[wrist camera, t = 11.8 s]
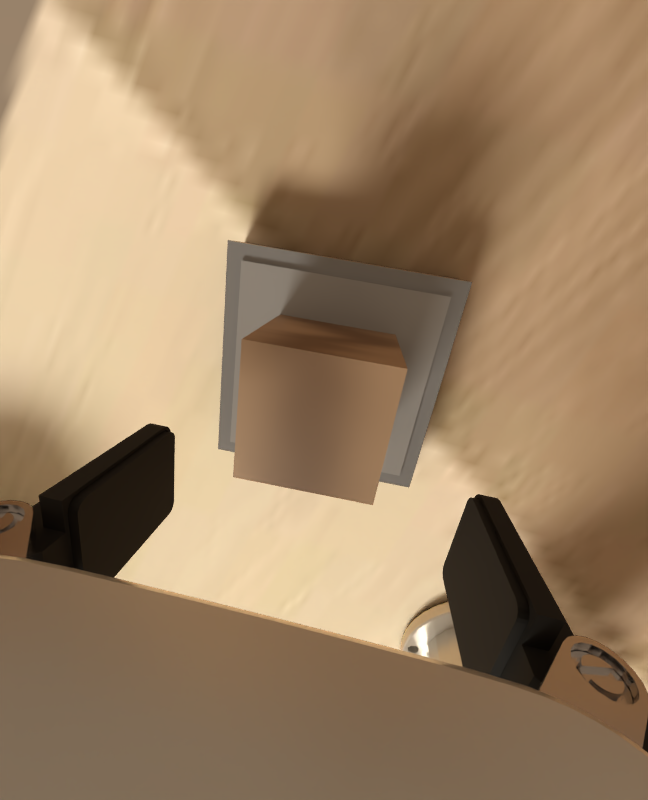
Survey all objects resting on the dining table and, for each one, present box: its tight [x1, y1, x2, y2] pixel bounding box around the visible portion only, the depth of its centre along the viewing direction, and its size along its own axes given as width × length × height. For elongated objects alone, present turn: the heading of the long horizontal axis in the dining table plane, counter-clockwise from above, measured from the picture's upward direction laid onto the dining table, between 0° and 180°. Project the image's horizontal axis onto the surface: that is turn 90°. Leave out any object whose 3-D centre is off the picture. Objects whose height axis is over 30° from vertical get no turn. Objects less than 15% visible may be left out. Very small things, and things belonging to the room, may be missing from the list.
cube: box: [233, 315, 407, 505], centre depth 16 cm, size 6×6×6 cm
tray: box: [218, 240, 472, 487], centre depth 20 cm, size 12×12×3 cm
